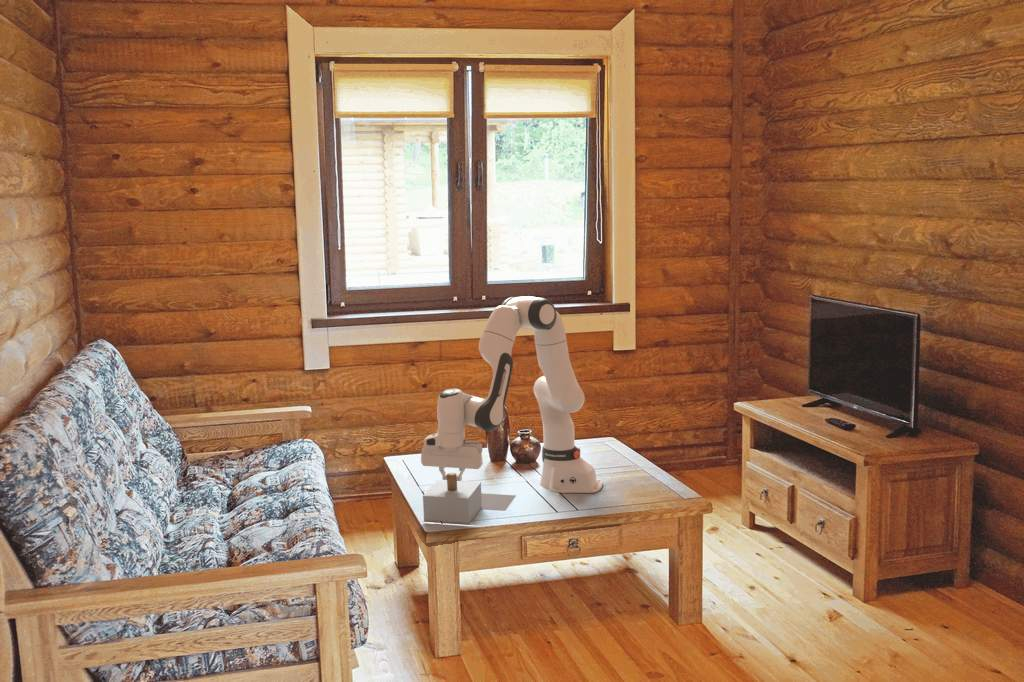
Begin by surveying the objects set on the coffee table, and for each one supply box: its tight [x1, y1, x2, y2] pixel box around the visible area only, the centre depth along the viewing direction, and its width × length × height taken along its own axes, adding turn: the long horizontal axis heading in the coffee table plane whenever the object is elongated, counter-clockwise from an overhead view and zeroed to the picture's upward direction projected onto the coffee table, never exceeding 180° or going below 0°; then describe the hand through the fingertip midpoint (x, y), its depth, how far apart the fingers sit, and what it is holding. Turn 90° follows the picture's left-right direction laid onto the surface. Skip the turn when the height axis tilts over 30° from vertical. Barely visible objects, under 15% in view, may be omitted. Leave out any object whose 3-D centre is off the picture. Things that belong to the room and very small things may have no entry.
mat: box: [480, 492, 517, 512], centre depth 350 cm, size 18×16×1 cm
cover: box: [422, 472, 482, 525], centre depth 337 cm, size 15×15×14 cm
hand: (452, 480), depth 336 cm, fingers closed on cover, 3 cm apart
